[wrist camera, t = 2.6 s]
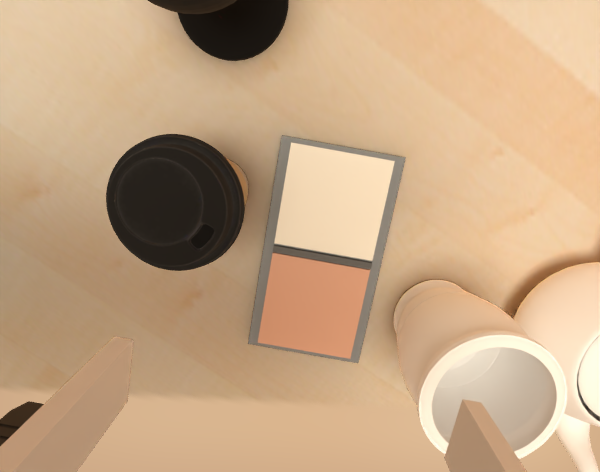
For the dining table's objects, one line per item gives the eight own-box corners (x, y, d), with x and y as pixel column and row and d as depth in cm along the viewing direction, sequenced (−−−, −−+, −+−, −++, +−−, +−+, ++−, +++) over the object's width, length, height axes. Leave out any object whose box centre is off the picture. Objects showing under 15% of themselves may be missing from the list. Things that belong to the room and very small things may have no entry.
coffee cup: (255, 241, 42) (224, 292, 27) (165, 220, 42) (86, 260, 27) (274, 150, 40) (252, 153, 25) (180, 127, 40) (103, 117, 25)
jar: (440, 378, 45) (502, 491, 30) (363, 328, 44) (389, 421, 29) (502, 303, 43) (602, 385, 28) (424, 249, 42) (484, 306, 27)
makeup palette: (249, 339, 44) (247, 346, 43) (282, 135, 40) (281, 135, 38) (357, 358, 44) (358, 365, 43) (403, 157, 40) (406, 157, 38)
